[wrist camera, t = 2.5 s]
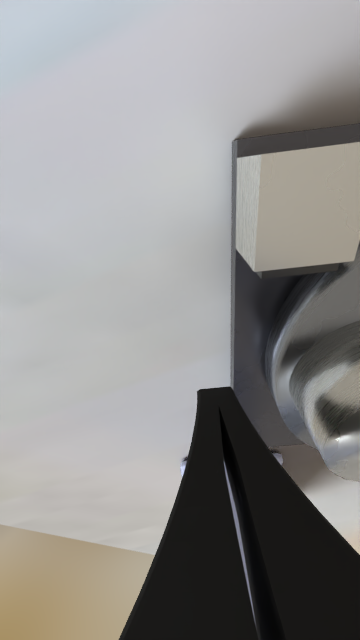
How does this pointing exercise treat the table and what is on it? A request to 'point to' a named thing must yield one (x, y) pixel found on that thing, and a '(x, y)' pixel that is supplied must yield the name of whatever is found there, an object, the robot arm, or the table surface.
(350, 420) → the cover
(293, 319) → the turntable
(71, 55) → the table surface
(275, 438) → the base plate
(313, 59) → the table surface
